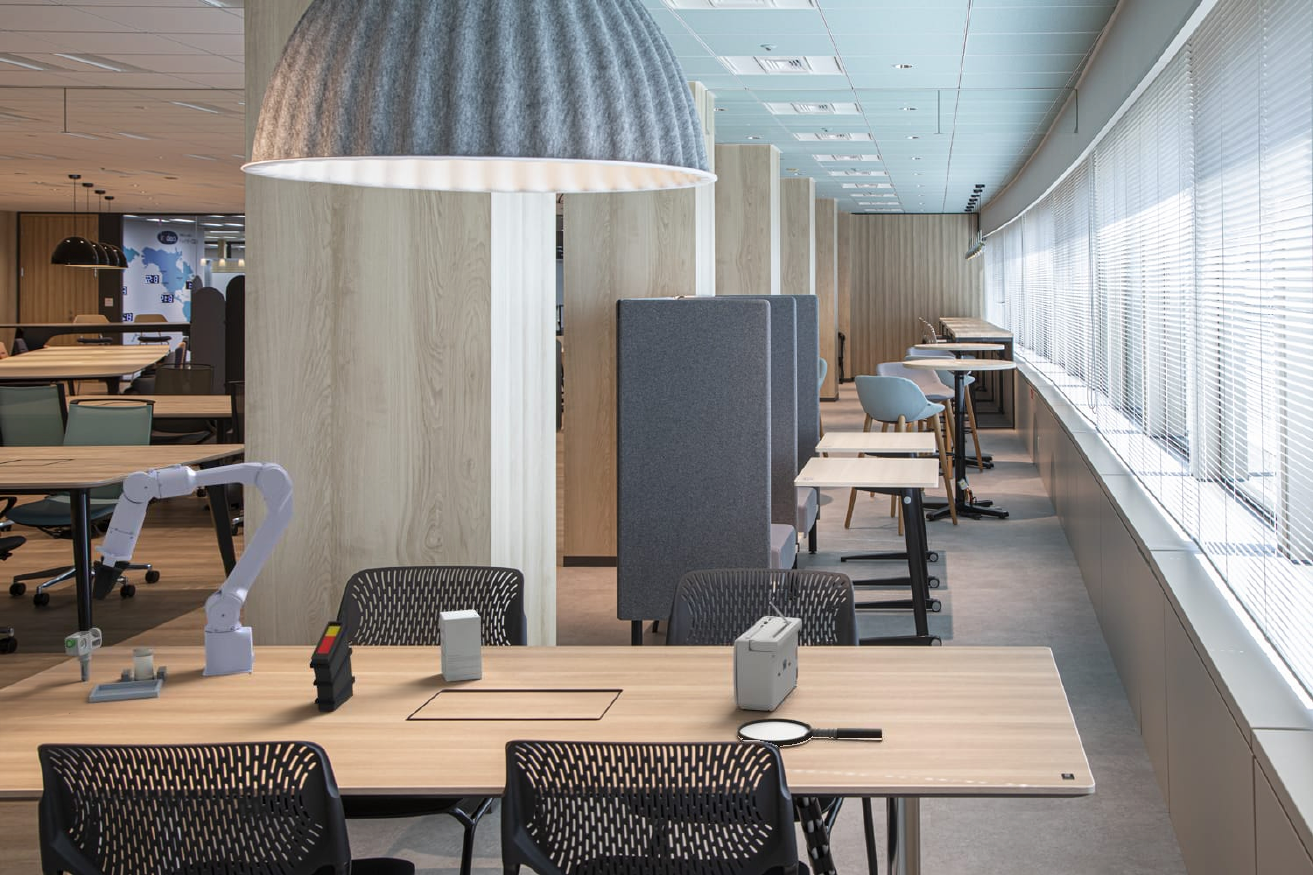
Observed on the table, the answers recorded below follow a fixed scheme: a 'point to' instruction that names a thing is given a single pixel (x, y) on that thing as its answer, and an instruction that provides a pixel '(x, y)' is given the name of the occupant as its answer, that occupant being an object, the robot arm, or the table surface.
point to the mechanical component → (83, 648)
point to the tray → (126, 691)
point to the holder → (161, 674)
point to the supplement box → (460, 645)
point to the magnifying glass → (796, 731)
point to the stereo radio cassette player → (766, 662)
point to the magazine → (333, 667)
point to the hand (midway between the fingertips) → (100, 596)
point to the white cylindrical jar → (143, 664)
